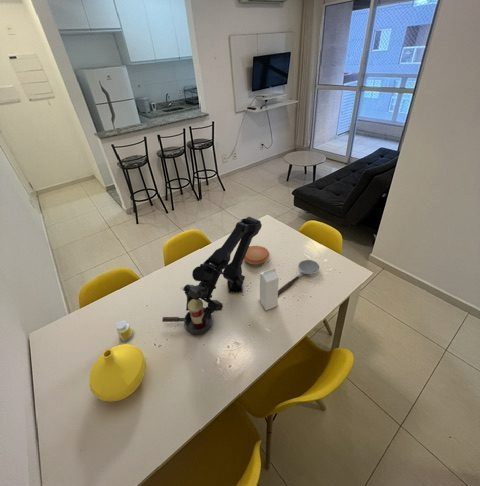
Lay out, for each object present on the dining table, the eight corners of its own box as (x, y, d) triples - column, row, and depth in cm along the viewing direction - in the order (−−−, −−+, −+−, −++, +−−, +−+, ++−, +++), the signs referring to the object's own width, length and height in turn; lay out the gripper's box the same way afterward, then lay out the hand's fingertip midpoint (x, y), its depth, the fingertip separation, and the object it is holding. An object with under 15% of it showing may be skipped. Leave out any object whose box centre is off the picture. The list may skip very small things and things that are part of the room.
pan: (214, 312, 119) (213, 306, 117) (211, 336, 109) (210, 330, 107) (188, 312, 119) (186, 307, 117) (183, 336, 109) (181, 331, 107)
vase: (150, 398, 90) (135, 372, 79) (94, 417, 86) (70, 391, 76) (149, 350, 105) (137, 322, 94) (101, 364, 101) (82, 336, 90)
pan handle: (185, 318, 114) (185, 315, 112) (184, 322, 112) (184, 319, 111) (164, 318, 114) (163, 316, 113) (162, 322, 112) (161, 320, 111)
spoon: (323, 270, 137) (323, 266, 135) (280, 306, 121) (280, 302, 119) (306, 261, 144) (306, 257, 143) (264, 294, 128) (264, 289, 127)
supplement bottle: (135, 332, 112) (129, 321, 107) (128, 342, 108) (121, 330, 103) (126, 329, 113) (120, 318, 108) (118, 339, 110) (112, 327, 105)
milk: (277, 306, 120) (279, 272, 108) (265, 310, 118) (267, 277, 106) (270, 296, 125) (272, 263, 112) (259, 301, 123) (260, 267, 110)
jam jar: (209, 319, 115) (205, 301, 108) (201, 331, 110) (197, 313, 103) (197, 315, 117) (193, 296, 110) (189, 326, 113) (184, 307, 105)
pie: (270, 268, 141) (270, 261, 138) (242, 268, 141) (241, 262, 138) (268, 249, 153) (268, 243, 150) (242, 250, 154) (242, 244, 151)
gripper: (182, 270, 108) (167, 305, 107) (215, 291, 98) (198, 329, 97) (198, 273, 117) (184, 305, 116) (230, 292, 107) (214, 326, 107)
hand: (194, 315), depth 109 cm, fingers open, 9 cm apart
